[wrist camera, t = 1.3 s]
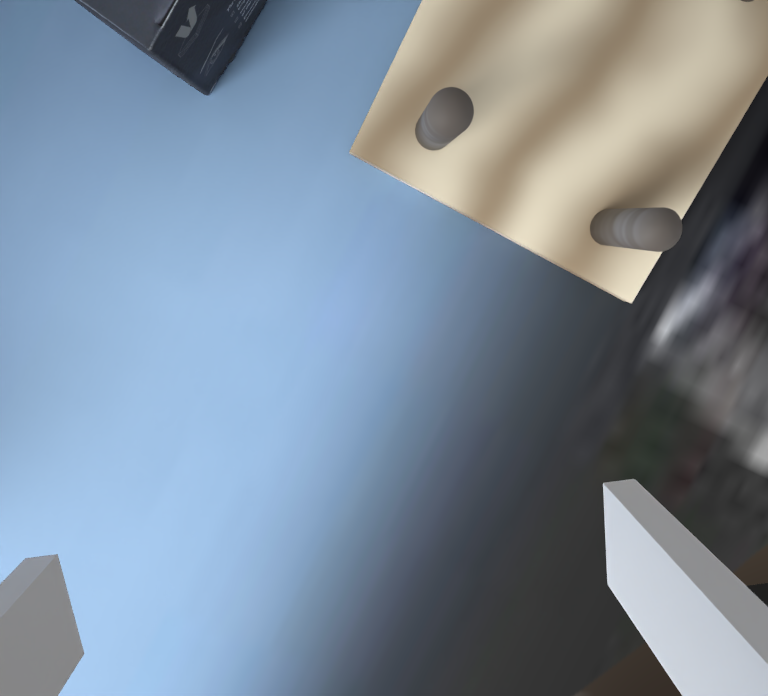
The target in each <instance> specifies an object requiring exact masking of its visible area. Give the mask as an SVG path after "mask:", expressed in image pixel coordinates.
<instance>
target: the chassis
mask: <svg viewBox="0 0 768 696" xmlns="http://www.w3.org/2000/svg"><path fill="white" fill-rule="evenodd" d="M767 76H768V0H422V2H421V4H420V6H419V8H418V10H417V12H416V14H415V16H414V18H413V20H412V22H411V25H410V27H409V29H408V31H407V33H406V35H405V37H404V39H403V41H402V43H401V45H400V47H399V50H398V52H397V54H396V56H395V58H394V60H393V62H392V64H391V66H390V68H389V70H388V72H387V75H386V77H385V79H384V81H383V83H382V85H381V87H380V89H379V91H378V93H377V95H376V97H375V99H374V102H373V104H372V106H371V108H370V110H369V112H368V114H367V116H366V118H365V120H364V122H363V124H362V127H361V129H360V131H359V133H358V135H357V137H356V139H355V141H354V143H353V145H352V147H351V149H350V151H349V152H350V154H351V155H353V156H355V157H357V158H359V159H360V160H362V161H364V162H366V163H368V164H370V165H372V166H374V167H375V168H377V169H379V170H381V171H383V172H385V173H387V174H388V175H390V176H392V177H394V178H396V179H398V180H400V181H401V182H403V183H405V184H407V185H409V186H411V187H413V188H414V189H416V190H418V191H420V192H422V193H424V194H426V195H427V196H429V197H431V198H433V199H435V200H437V201H439V202H440V203H442V204H444V205H446V206H448V207H450V208H452V209H453V210H455V211H457V212H459V213H461V214H463V215H465V216H466V217H468V218H470V219H472V220H474V221H476V222H478V223H479V224H481V225H483V226H485V227H487V228H489V229H491V230H493V231H494V232H496V233H498V234H500V235H502V236H504V237H506V238H507V239H509V240H511V241H513V242H515V243H517V244H519V245H520V246H522V247H524V248H526V249H528V250H530V251H532V252H533V253H535V254H537V255H539V256H541V257H543V258H545V259H546V260H548V261H550V262H552V263H554V264H556V265H558V266H559V267H561V268H563V269H565V270H567V271H569V272H571V273H572V274H574V275H576V276H578V277H580V278H582V279H584V280H585V281H587V282H589V283H591V284H593V285H595V286H597V287H599V288H600V289H602V290H604V291H606V292H608V293H610V294H612V295H613V296H615V297H617V298H619V299H621V300H623V301H626V302H629V303H632V302H633V300H634V299H635V297H636V295H637V294H638V292H639V290H640V289H641V287H642V285H643V284H644V282H645V280H646V279H647V277H648V275H649V274H650V272H651V270H652V268H653V267H654V265H655V263H656V262H657V260H658V258H659V257H660V255H661V253H662V252H663V251H666V250H668V249H670V248H672V247H673V246H674V245H675V244H676V243H677V242H678V240H679V239H680V237H681V234H682V221H681V220H682V218H683V217H684V215H685V213H686V212H687V210H688V208H689V206H690V205H691V203H692V201H693V200H694V198H695V196H696V195H697V193H698V191H699V190H700V188H701V186H702V185H703V183H704V181H705V180H706V178H707V176H708V175H709V173H710V171H711V170H712V168H713V166H714V165H715V163H716V161H717V160H718V158H719V156H720V155H721V153H722V151H723V149H724V148H725V146H726V144H727V143H728V141H729V139H730V138H731V136H732V134H733V133H734V131H735V129H736V128H737V126H738V124H739V123H740V121H741V119H742V118H743V116H744V114H745V113H746V111H747V109H748V108H749V106H750V104H751V103H752V101H753V99H754V98H755V96H756V94H757V93H758V91H759V89H760V87H761V86H762V84H763V82H764V81H765V79H766V77H767Z"/></svg>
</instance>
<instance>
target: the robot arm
mask: <svg viewBox="0 0 768 696" xmlns="http://www.w3.org/2000/svg"><path fill="white" fill-rule="evenodd" d="M603 494H604V516H605V539H606V561H607V584H608V586H609V587H610V589H611V590H612V592H613V593H614V595H615V596H616V598H617V599H618V601H619V602H620V604H621V605H622V607H623V608H624V610H625V611H626V613H627V614H628V616H629V617H630V619H631V620H632V622H633V623H634V624H635V626H636V627H637V629H638V630H639V632H640V633H641V635H642V636H643V638H644V639H645V641H646V642H647V644H648V645H649V647H650V648H651V650H652V651H653V653H654V654H655V656H656V657H657V659H658V660H659V662H660V663H661V665H662V666H663V668H664V669H665V671H666V672H667V673H668V675H669V677H670V678H671V680H672V681H673V683H674V684H675V685H676V687H677V689H678V690H679V691H680V693H681V694H682V696H768V583H765V584H758V585H750V586H746V585H744V583H742V582H741V581H740V580H739V579H738V578H737V577H736V576H735V575H734V574H733V573H732V572H731V571H730V570H729V569H728V568H727V567H726V566H725V565H724V564H723V563H722V562H721V561H720V560H718V559H717V558H716V557H715V556H714V555H713V554H712V553H711V552H710V551H709V550H708V549H707V548H706V547H705V546H704V545H703V544H702V543H701V542H700V541H699V540H698V539H697V538H696V537H695V536H693V535H692V534H691V533H690V532H689V531H688V530H687V529H686V528H685V527H684V526H683V525H682V524H681V523H680V522H679V521H678V520H677V519H676V518H675V517H674V516H673V515H672V514H671V513H669V512H668V511H667V510H666V509H665V508H664V507H663V506H662V505H661V504H660V503H659V502H658V501H657V500H656V499H655V498H654V497H653V496H652V495H651V494H650V493H649V492H648V491H647V490H646V489H644V488H643V487H642V486H641V485H640V484H639V483H638V482H637V481H636V480H635V479H630V480H623V481H615V482H607V483H603ZM83 655H84V651H83V647H82V644H81V640H80V636H79V632H78V629H77V625H76V621H75V617H74V614H73V610H72V606H71V603H70V599H69V595H68V591H67V588H66V584H65V580H64V576H63V573H62V569H61V565H60V562H59V558H58V554H56V555H48V556H40V557H33V558H25V559H24V560H23V561H22V562H21V563H20V564H19V565H18V566H17V567H16V569H15V570H14V571H13V572H12V573H11V574H10V575H9V576H8V577H7V578H6V579H5V580H4V581H3V582H2V583H1V584H0V696H58V694H59V693H60V691H61V690H62V688H63V687H64V685H65V683H66V682H67V680H68V679H69V677H70V675H71V674H72V672H73V671H74V669H75V667H76V666H77V664H78V663H79V661H80V660H81V658H82V656H83Z"/></svg>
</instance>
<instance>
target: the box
mask: <svg viewBox="0 0 768 696" xmlns="http://www.w3.org/2000/svg"><path fill="white" fill-rule="evenodd" d="M75 1H76V2H77V3H78V4H80V5H81V6H83V7H84V8H85V9H87V10H88V11H89V12H91V13H92V14H93V15H95V16H96V17H97V18H98V19H100V20H101V21H102V22H104V23H105V24H106V25H108V26H109V27H110V28H112V29H113V30H114V31H116V32H117V33H118V34H120V35H121V36H122V37H124V38H125V39H127V40H128V41H129V42H131V43H132V44H133V45H135V46H136V47H137V48H138V49H140V50H142V51H143V52H144V53H146V54H147V55H148V56H150V57H151V58H153V59H154V60H155V61H157V62H158V63H160V64H161V65H162V66H164V67H165V68H167V69H168V70H169V71H171V72H172V73H173V74H175V75H176V76H177V77H179V78H181V79H182V80H184V81H185V82H186V83H188V84H189V85H190V86H192V87H194V88H195V89H197V90H198V91H200V92H201V93H203V94H204V95H210V93H211V92H212V89H213V87H214V85H215V84H216V82H217V80H218V78H219V77H220V75H222V74H223V72H224V70H225V69H226V66H227V65H228V64H229V63H230V62H232V60H233V59H234V57H235V54H236V52H237V50H238V49H239V48H240V46H241V45H242V43H243V41H244V38H245V37H246V36H247V34H248V32H249V30H250V29H251V27H252V24H253V23H254V21H255V20H256V18H257V16H258V15H259V13H260V12H261V10H262V8H263V7H264V5H265V3H266V1H267V0H75Z"/></svg>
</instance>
